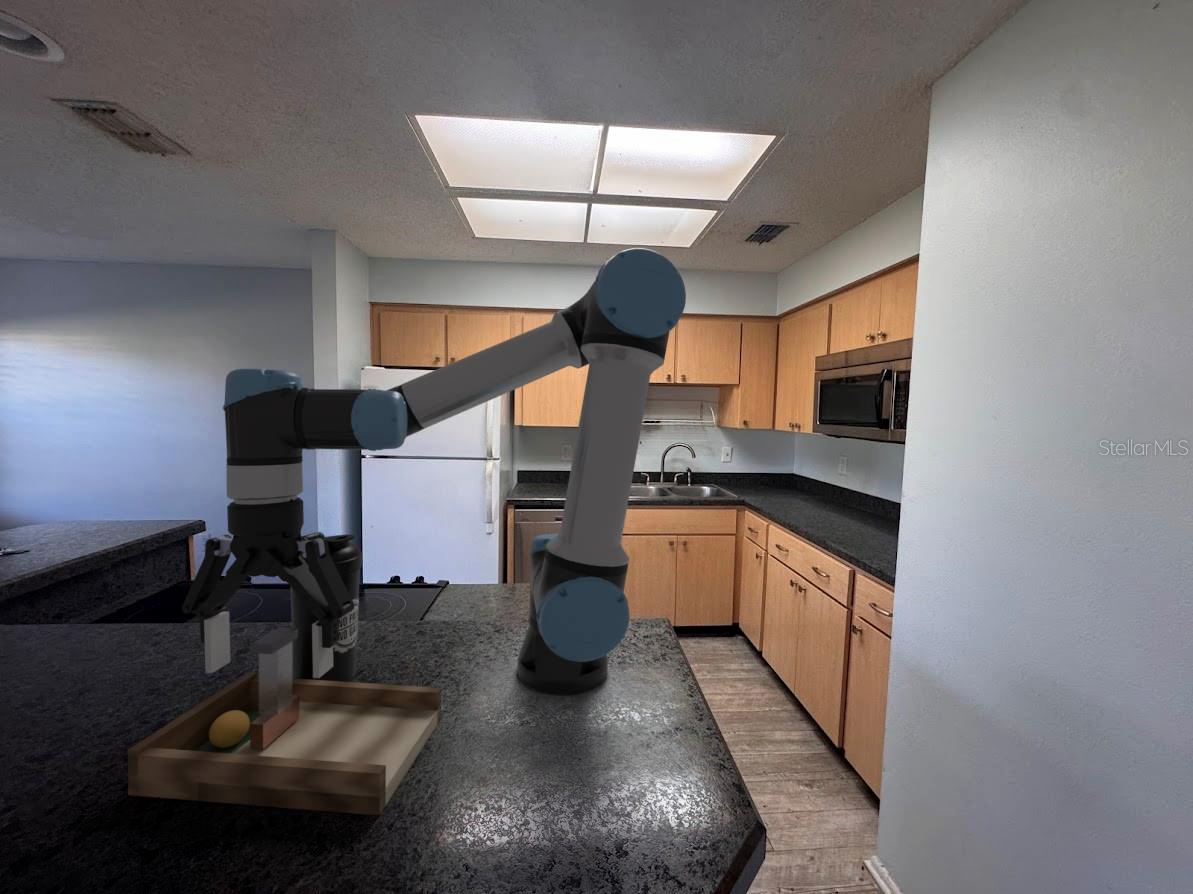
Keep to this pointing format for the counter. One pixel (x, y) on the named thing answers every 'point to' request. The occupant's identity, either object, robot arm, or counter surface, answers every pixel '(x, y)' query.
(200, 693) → the counter surface
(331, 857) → the counter surface
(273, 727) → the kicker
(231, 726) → the ball
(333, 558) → the water bottle
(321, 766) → the lane
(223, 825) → the counter surface
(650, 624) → the counter surface
